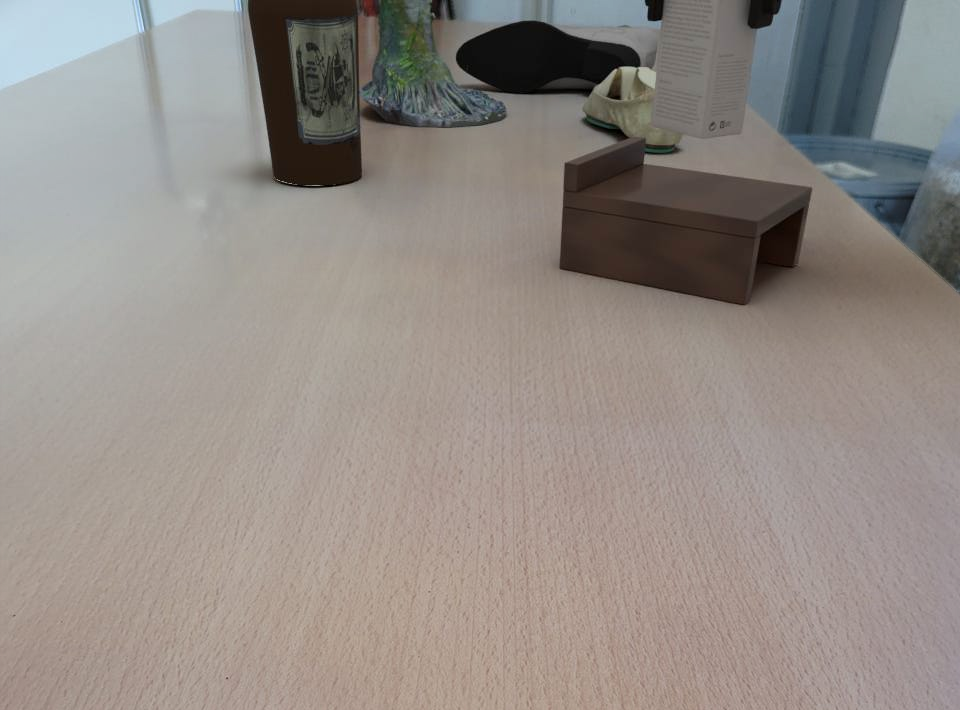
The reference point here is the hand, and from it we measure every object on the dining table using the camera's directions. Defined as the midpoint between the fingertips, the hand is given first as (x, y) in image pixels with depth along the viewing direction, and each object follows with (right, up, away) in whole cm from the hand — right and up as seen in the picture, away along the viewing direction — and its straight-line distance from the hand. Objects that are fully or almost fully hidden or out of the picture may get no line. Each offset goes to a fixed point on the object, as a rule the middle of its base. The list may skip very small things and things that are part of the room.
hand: (708, 20), depth 72 cm
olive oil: (-34, +5, +35) cm, 49 cm away
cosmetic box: (0, -6, +4) cm, 7 cm away
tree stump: (-23, +27, +64) cm, 73 cm away
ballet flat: (+3, +19, +53) cm, 57 cm away
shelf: (0, -14, +11) cm, 17 cm away
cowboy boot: (-3, +43, +85) cm, 95 cm away
